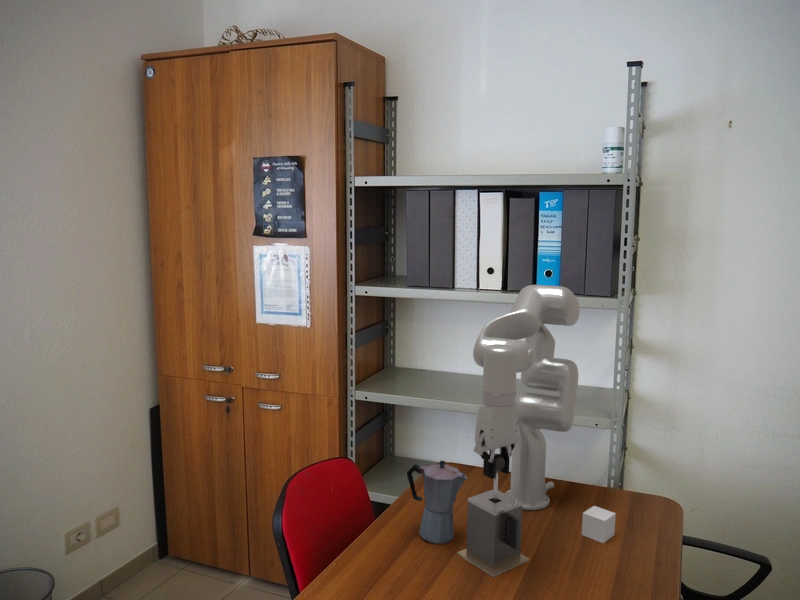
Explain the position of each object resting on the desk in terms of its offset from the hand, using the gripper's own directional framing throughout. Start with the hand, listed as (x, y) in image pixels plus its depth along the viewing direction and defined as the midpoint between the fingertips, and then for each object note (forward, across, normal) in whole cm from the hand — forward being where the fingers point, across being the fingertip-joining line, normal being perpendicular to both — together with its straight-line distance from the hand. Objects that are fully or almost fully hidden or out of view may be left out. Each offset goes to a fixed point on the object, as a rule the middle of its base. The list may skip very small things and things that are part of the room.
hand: (496, 473), depth 146 cm
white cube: (+21, -30, +8) cm, 38 cm away
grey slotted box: (+21, 0, 0) cm, 21 cm away
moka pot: (+21, +4, -16) cm, 27 cm away
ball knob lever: (+12, 0, 0) cm, 12 cm away
